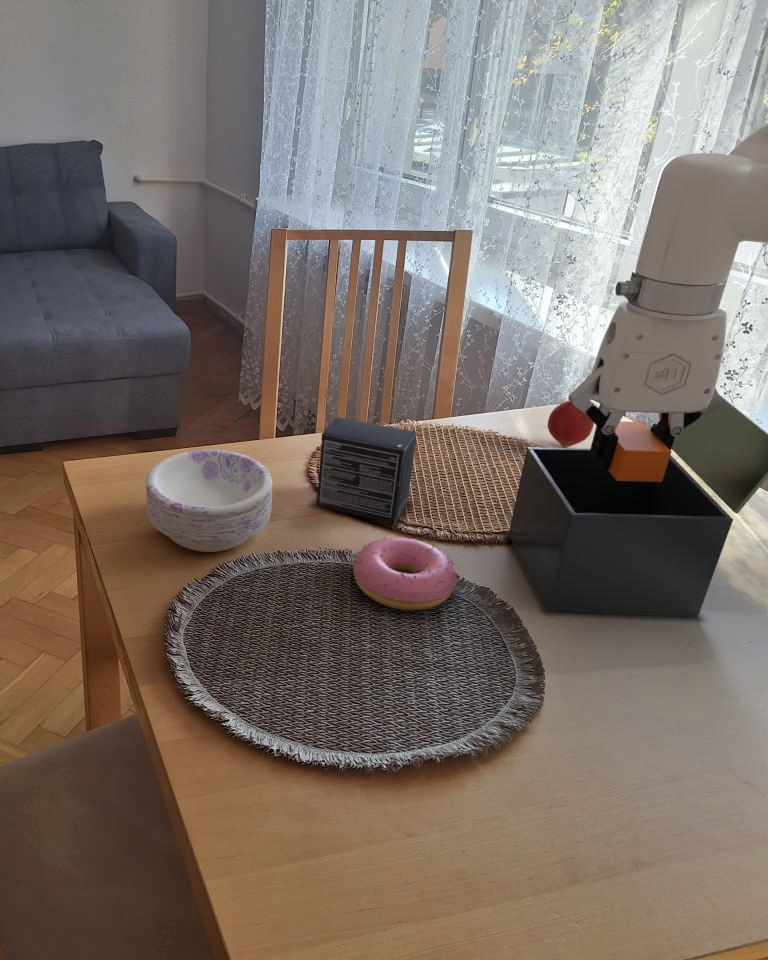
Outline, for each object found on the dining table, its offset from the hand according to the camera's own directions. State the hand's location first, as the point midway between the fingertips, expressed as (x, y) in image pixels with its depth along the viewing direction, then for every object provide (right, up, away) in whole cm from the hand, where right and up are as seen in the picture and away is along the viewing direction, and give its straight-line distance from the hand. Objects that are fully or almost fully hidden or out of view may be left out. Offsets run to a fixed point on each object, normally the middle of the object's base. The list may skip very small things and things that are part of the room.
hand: (626, 462), depth 90 cm
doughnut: (-22, -14, +6) cm, 27 cm away
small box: (-22, -5, +22) cm, 31 cm away
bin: (+1, -12, +7) cm, 14 cm away
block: (0, 0, 0) cm, 0 cm away
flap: (+9, +2, -2) cm, 9 cm away
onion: (+11, +3, +34) cm, 36 cm away
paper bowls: (-42, -8, +17) cm, 46 cm away
